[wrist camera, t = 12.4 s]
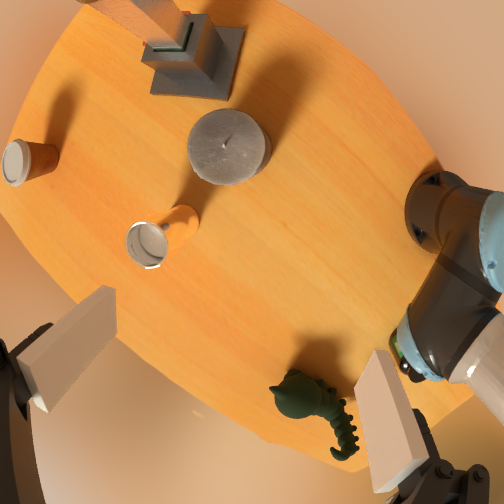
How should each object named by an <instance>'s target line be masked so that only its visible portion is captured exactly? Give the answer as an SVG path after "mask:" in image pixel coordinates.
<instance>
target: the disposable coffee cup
mask: <svg viewBox="0 0 504 504" xmlns="http://www.w3.org/2000/svg"><path fill="white" fill-rule="evenodd" d="M58 161H59V154H58V150H57V148H56V147H55V146H53V145H47V144H41V143H33V142H25V141H23V140H21V139H16V140H14V141H13V142H11V143H9V144H8V146H7V147H6V149H5V151H4V153H3V157H2V173H3V177H4V179H5V181H6V182H7V183H8V184H9V185H12V186H16V187H17V186H20V185H21V184H22V183H23V182H25V181H28V180H31V179H34V178H36V177H38V176H42V175H45V174H48V173H51V172H53V171H54V170H55V169H56V167H57V165H58Z"/></svg>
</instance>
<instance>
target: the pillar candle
mask: <svg viewBox="0 0 504 504" xmlns="http://www.w3.org/2000/svg"><path fill="white" fill-rule="evenodd" d="M187 150H188V157H189V160H190V163H191V165H192V167H193V170H194V172H195V173H197V175H198V176H199V177H200V178H202V179H204V180H205V181H208V182H211V183H213V184H215V185H216V184H218V185H221V186H225V185H235V184H238V183H240V182H243V181H245V180H246V179H249V178H251V177H253V176H254V175H256V174H258V173H259V172H261V171H262V170H263V169H264V167H266V165H267V163H268V161H269V159H270V155H271V151H272V145H271V141H270V138H269V136H268V135H267V133H266V132H265V131H264V129H263V128H262V127H261V126H260V125H259V124H258V123H257V121H256V120H254V119H253V118H252V117H251V116H249V115H248V114H247V113H244V112H242V111H239V110H236V109H219V110H215V111H212V112H210V113H208V114H206V115H204V116H203V117H202V118H201V119H200V120H199V121H198V122H197V123H196V124H195V125H194V127H193V128H192V130H191V132H190V135H189V138H188V146H187Z"/></svg>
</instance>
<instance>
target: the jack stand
mask: <svg viewBox="0 0 504 504" xmlns="http://www.w3.org/2000/svg"><path fill="white" fill-rule="evenodd" d="M181 12H182V13H183V14H184V16H185V17H186V18H187V20H188V21H190V23H191V24H192V26H193V28H192V31H191V34H190V38H189V41H188V44H187V48H186V51H185V52H158V51H156V50H154V49H153V48H152V47H151V46H150V45H148V44H147V43H146V42H143V46H145V50H144V53H143V56H142V60H141V62H143V63H144V64H146V65H148V66H149V67H151V68H153V69H154V70H155V74H154V78H153V82H152V86H151V90H150V94H152V95H165V96H181V97H193V98H204V99H213V100H221V101H228V99H229V94H230V90H231V86H232V81H233V77H234V73H235V69H236V65H237V61H238V57H239V53H240V49H241V45H242V41H243V37H244V33H245V31H244V28H233V27H216V26H214V25H213V23H212V22H211V20H210V18H209V16H208V15H207V14H191V13H190V11H181Z"/></svg>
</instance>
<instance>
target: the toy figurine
mask: <svg viewBox="0 0 504 504" xmlns="http://www.w3.org/2000/svg"><path fill="white" fill-rule="evenodd" d="M325 388H326V383H325V382H324V381H323V380H318V381H317V382H315V381H314V380H313V379H311V378H310V377H308V376H305V375H303V374H302V373H301V372H300V371H299V370H292V371H290V372H289V373H287V374H286V375H285V376H284V380H283V381H282V382H281V383H280V384H279V385H278V386H271V387H269V389H270V391H271V392H272V393H273V394H274V395H275V404H276V406H277V408H278V410H279V411H280V412H281V413H282V414H283V415H285V416H287V417H289V418H293V419H301V418H305V417H308V416H310V415H318V416H320V417H324V418H325V419H326V420H327V421H330V425H331V427H332V428H333V429H335V430H334V433H335V436H336V437H337V438H338V445H339V446H340V447H341V451H339V450H336V449H335V448H334V447H331V448H330V451H331V454H332V455H333V457H334V458H335V459H337V460H339V461H344V460H347V459H348V458H349V457H350V456H352V455H353V454H355V452H356V451H358V450H359V449H360V447H359V446H356V444H355V442H356V441H358V440H359V437H358V436H354V435H353V434H352V433H353V431H356V429H357V427H356V426H355V425H353V426H352V425H351V424H350V421H352V420H353V416H352V415H348V414H347V413H345V412H344V406H345V405H346V400H345V399H340V400H339V401H338V398H337V396H336V393H337V391H336V389H335V388H330V389H329V390H328V391H326V390H325Z"/></svg>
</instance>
